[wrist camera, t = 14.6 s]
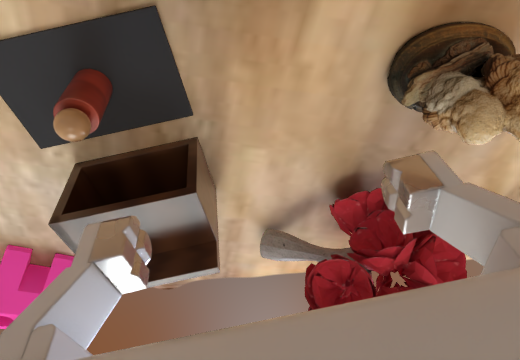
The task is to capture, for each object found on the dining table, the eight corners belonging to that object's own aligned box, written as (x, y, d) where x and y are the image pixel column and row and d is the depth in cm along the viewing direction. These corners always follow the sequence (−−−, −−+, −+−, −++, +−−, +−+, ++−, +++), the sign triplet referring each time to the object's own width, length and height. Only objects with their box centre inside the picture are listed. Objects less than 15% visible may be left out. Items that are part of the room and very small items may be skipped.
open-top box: (109, 212, 53) (84, 301, 41) (75, 163, 46) (34, 253, 35) (216, 189, 52) (220, 272, 41) (197, 137, 46) (196, 219, 35)
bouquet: (294, 238, 74) (451, 268, 61) (250, 341, 58) (450, 410, 45) (279, 157, 60) (475, 175, 48) (217, 262, 44) (488, 329, 32)
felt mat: (42, 147, 44) (40, 148, 43) (-33, 47, 35) (-35, 48, 35) (193, 114, 43) (193, 115, 43) (155, 5, 35) (155, 6, 34)
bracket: (65, 293, 65) (47, 348, 57) (2, 284, 61) (-27, 342, 53) (77, 257, 59) (59, 313, 51) (8, 244, 54) (-24, 304, 47)
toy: (84, 106, 40) (58, 156, 33) (65, 73, 38) (32, 120, 30) (119, 98, 40) (100, 147, 33) (102, 64, 38) (77, 109, 30)
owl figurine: (366, 110, 47) (429, 196, 34) (394, 18, 39) (489, 84, 26) (484, 109, 49) (584, 188, 36) (532, 23, 41) (680, 85, 29)
